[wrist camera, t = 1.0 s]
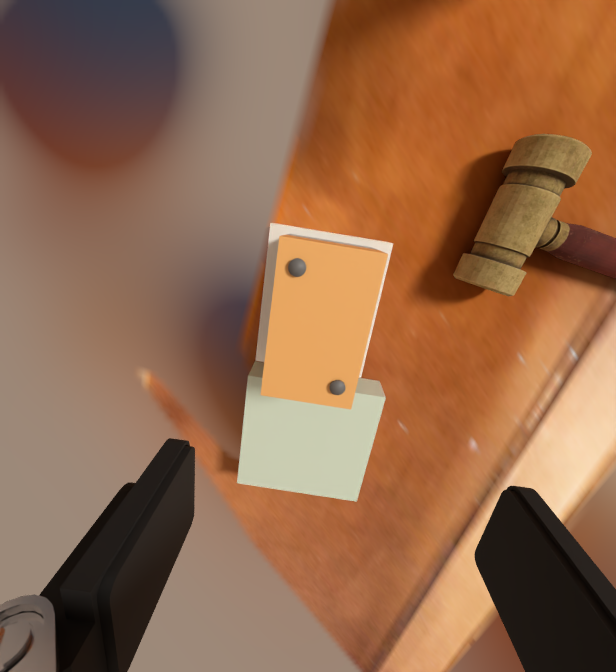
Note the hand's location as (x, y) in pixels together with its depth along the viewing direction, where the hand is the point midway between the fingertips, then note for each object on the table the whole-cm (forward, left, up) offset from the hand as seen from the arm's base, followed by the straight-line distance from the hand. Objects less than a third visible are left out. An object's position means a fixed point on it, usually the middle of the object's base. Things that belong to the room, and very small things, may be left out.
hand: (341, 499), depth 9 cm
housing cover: (-2, -1, -13) cm, 13 cm away
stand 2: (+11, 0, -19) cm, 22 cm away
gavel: (-9, +20, -20) cm, 30 cm away
